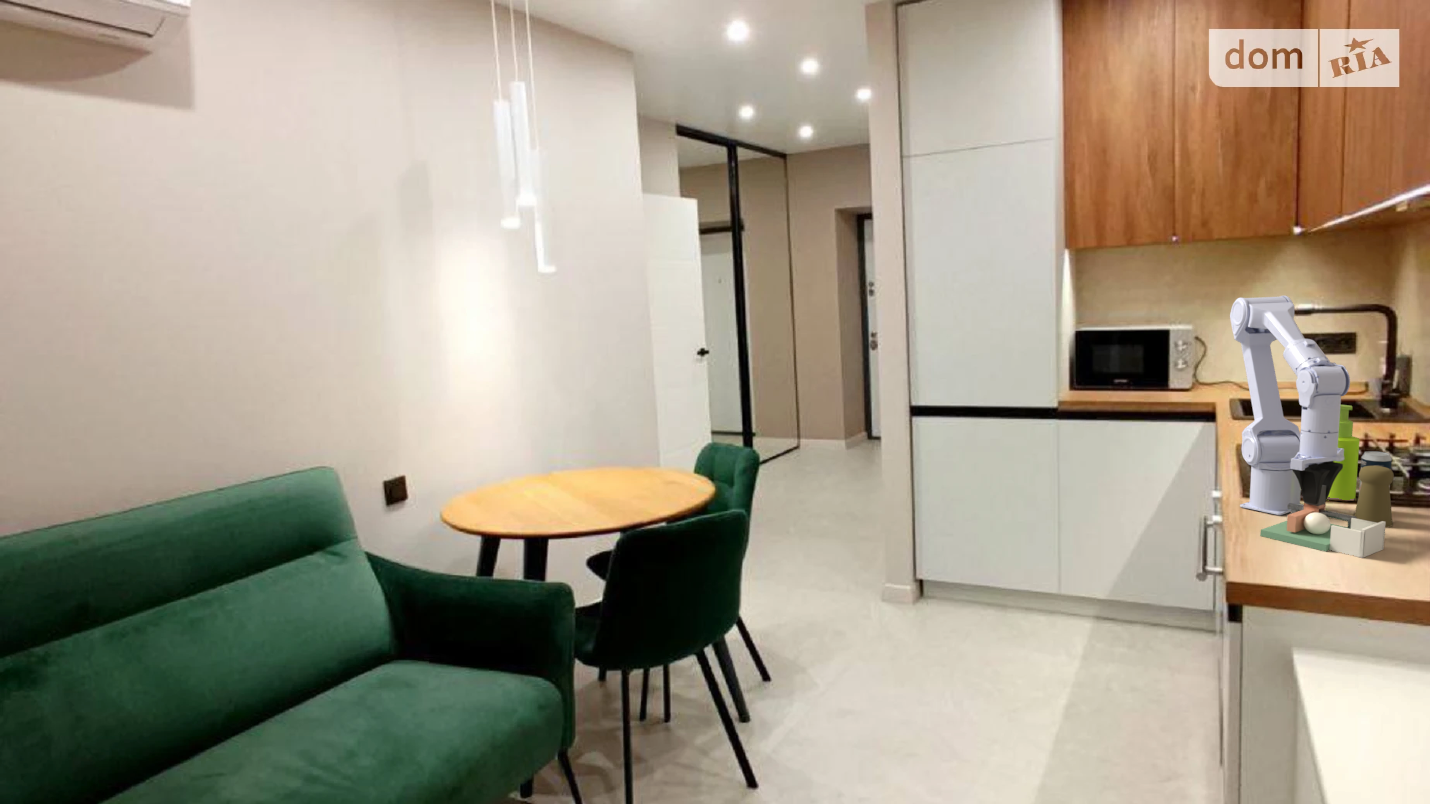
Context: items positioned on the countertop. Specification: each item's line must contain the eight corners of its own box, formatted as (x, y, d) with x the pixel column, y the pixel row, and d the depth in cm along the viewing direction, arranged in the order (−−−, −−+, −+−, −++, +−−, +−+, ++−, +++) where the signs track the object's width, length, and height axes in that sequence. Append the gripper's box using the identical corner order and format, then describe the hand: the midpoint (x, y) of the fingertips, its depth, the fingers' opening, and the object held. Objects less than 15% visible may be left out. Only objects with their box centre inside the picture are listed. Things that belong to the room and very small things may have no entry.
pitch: (1297, 522, 162) (1298, 516, 162) (1363, 536, 153) (1363, 530, 153) (1260, 535, 156) (1260, 529, 156) (1326, 551, 147) (1326, 545, 146)
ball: (1309, 529, 155) (1311, 508, 154) (1334, 534, 151) (1335, 513, 151) (1298, 533, 153) (1299, 512, 152) (1322, 539, 150) (1324, 517, 149)
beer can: (1359, 507, 170) (1363, 449, 168) (1389, 511, 166) (1394, 452, 164) (1355, 512, 166) (1359, 454, 164) (1386, 517, 163) (1390, 457, 161)
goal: (1351, 541, 151) (1352, 515, 150) (1383, 549, 146) (1385, 521, 146) (1329, 550, 147) (1331, 522, 146) (1362, 557, 143) (1364, 529, 142)
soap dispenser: (1314, 492, 181) (1320, 402, 178) (1354, 496, 177) (1361, 403, 174) (1314, 499, 176) (1320, 406, 173) (1355, 503, 172) (1362, 408, 169)
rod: (1290, 519, 161) (1291, 502, 160) (1355, 533, 151) (1356, 515, 151) (1286, 520, 160) (1287, 503, 160) (1352, 535, 151) (1353, 516, 150)
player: (1310, 520, 158) (1312, 482, 157) (1324, 523, 156) (1326, 485, 155) (1283, 529, 154) (1286, 491, 153) (1297, 533, 152) (1300, 494, 151)
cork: (1375, 516, 163) (1379, 462, 162) (1401, 526, 157) (1405, 469, 156) (1345, 518, 163) (1348, 464, 161) (1370, 528, 157) (1374, 471, 155)
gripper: (1322, 439, 147) (1318, 513, 149) (1364, 428, 154) (1359, 499, 156) (1280, 433, 153) (1276, 504, 155) (1321, 422, 160) (1317, 491, 162)
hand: (1315, 501), depth 156 cm, fingers closed on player, 2 cm apart
